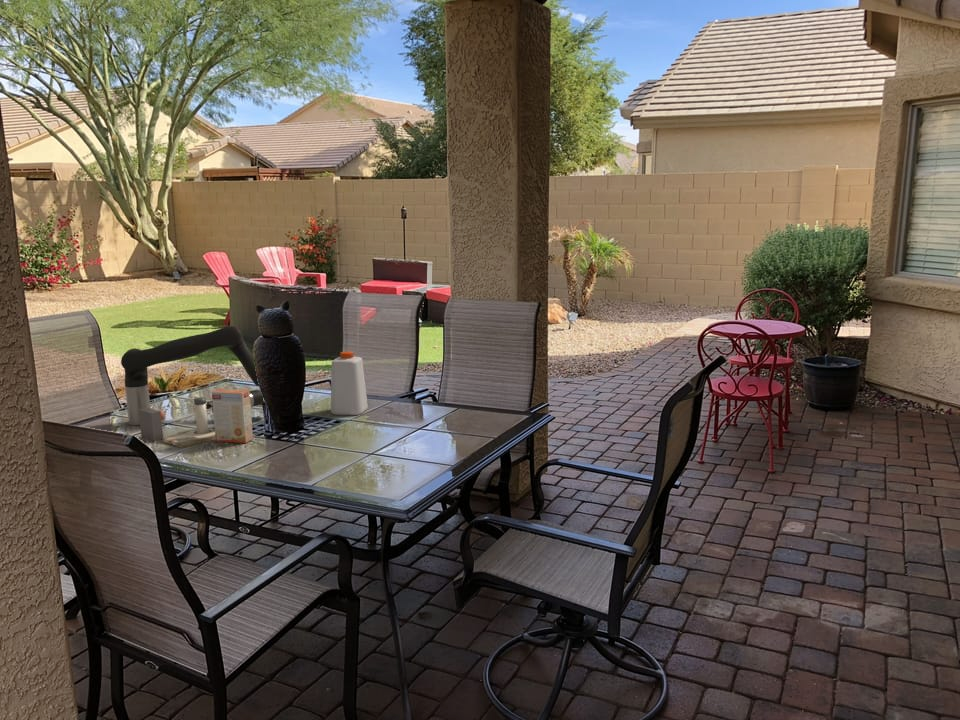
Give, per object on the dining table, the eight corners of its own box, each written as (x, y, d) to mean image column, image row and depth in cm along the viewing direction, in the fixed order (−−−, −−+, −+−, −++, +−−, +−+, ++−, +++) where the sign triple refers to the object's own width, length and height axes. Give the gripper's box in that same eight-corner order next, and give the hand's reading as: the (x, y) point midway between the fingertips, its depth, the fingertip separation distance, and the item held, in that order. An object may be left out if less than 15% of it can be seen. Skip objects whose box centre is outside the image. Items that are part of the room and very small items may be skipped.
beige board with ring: (162, 441, 305) (162, 437, 305) (206, 430, 321) (206, 426, 320) (181, 447, 297) (181, 443, 296) (225, 435, 312) (225, 432, 312)
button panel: (141, 437, 311) (138, 409, 309) (151, 435, 315) (148, 407, 312) (154, 441, 305) (151, 413, 303) (164, 439, 309) (161, 411, 306)
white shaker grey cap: (194, 431, 313) (191, 399, 310) (204, 429, 317) (201, 396, 314) (200, 433, 310) (197, 400, 308) (210, 430, 314) (207, 398, 311)
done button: (155, 420, 312) (154, 410, 312) (159, 419, 314) (158, 409, 313) (161, 421, 310) (160, 411, 309) (165, 420, 311) (164, 410, 310)
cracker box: (253, 439, 306) (250, 389, 302) (245, 444, 300) (241, 393, 297) (224, 437, 310) (219, 388, 306) (215, 441, 304) (210, 391, 300)
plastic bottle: (360, 416, 340) (357, 355, 335) (328, 415, 342) (324, 355, 337) (370, 408, 355) (367, 349, 349) (339, 407, 357) (336, 349, 352)
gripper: (229, 391, 330) (196, 398, 317) (249, 395, 321) (215, 402, 309) (231, 407, 331) (198, 415, 319) (250, 412, 323) (217, 420, 310)
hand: (206, 409), depth 314 cm, fingers open, 8 cm apart
